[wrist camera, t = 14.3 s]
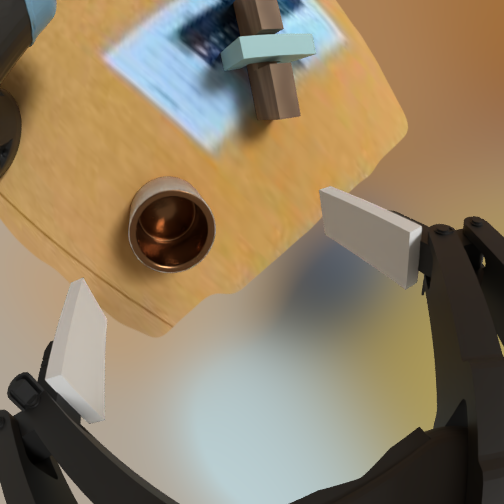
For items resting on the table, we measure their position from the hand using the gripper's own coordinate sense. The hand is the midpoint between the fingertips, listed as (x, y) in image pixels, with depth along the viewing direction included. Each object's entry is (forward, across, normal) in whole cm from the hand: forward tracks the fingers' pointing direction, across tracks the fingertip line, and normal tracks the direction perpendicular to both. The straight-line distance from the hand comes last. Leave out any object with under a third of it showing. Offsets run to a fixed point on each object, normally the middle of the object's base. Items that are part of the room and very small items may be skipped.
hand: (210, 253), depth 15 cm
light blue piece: (+30, +17, +13) cm, 37 cm away
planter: (+30, -2, -6) cm, 31 cm away
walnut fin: (+30, +17, +13) cm, 37 cm away
